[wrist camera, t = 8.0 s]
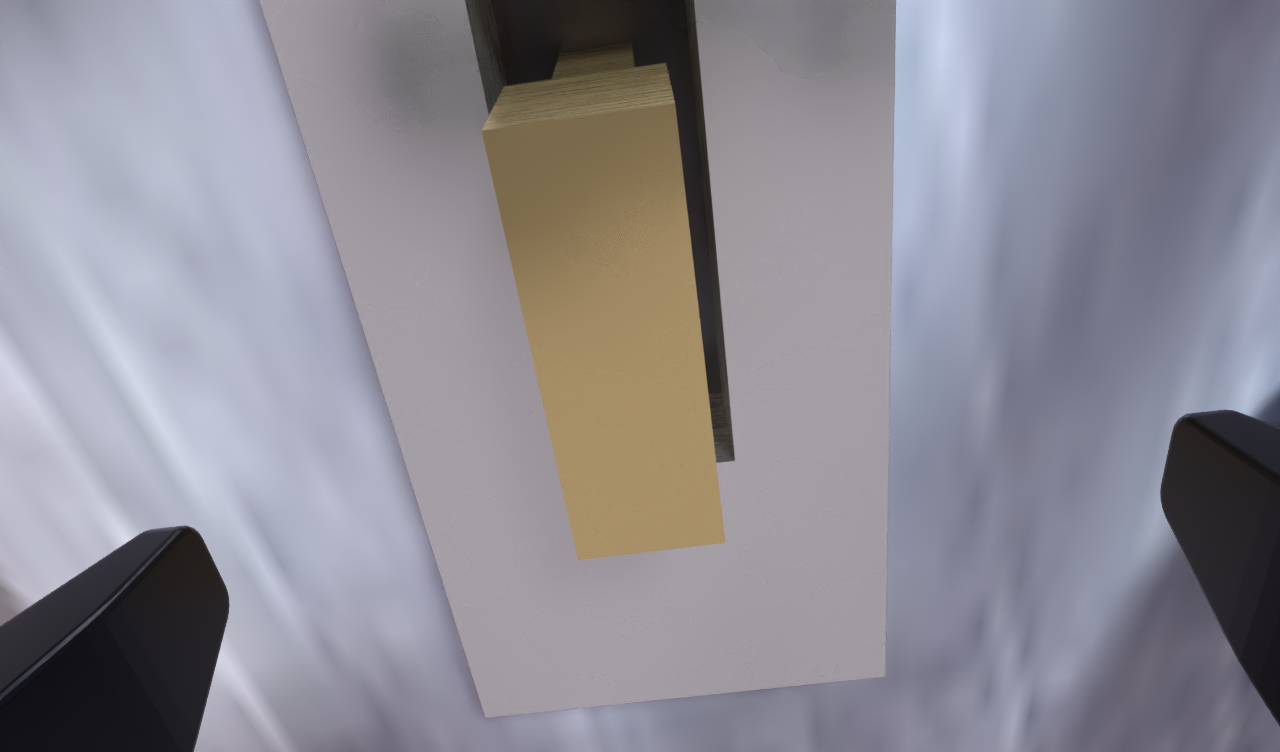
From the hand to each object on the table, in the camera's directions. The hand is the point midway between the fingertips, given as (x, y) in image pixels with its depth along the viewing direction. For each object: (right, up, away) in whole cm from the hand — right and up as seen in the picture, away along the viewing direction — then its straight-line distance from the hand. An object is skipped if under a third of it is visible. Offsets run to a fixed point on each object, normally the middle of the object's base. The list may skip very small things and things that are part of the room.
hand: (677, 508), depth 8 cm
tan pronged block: (-1, +5, +10) cm, 12 cm away
